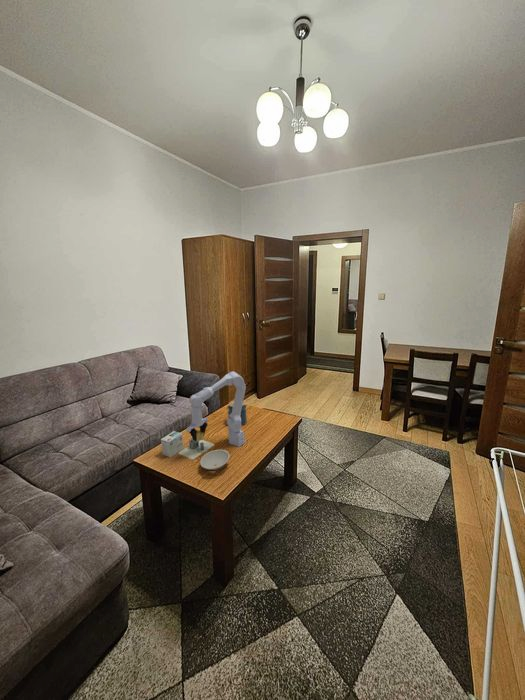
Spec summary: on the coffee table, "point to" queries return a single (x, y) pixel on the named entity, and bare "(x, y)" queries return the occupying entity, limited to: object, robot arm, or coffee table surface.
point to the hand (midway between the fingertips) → (198, 437)
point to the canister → (243, 411)
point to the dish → (214, 459)
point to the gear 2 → (200, 435)
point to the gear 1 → (193, 444)
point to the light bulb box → (172, 443)
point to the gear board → (196, 452)
